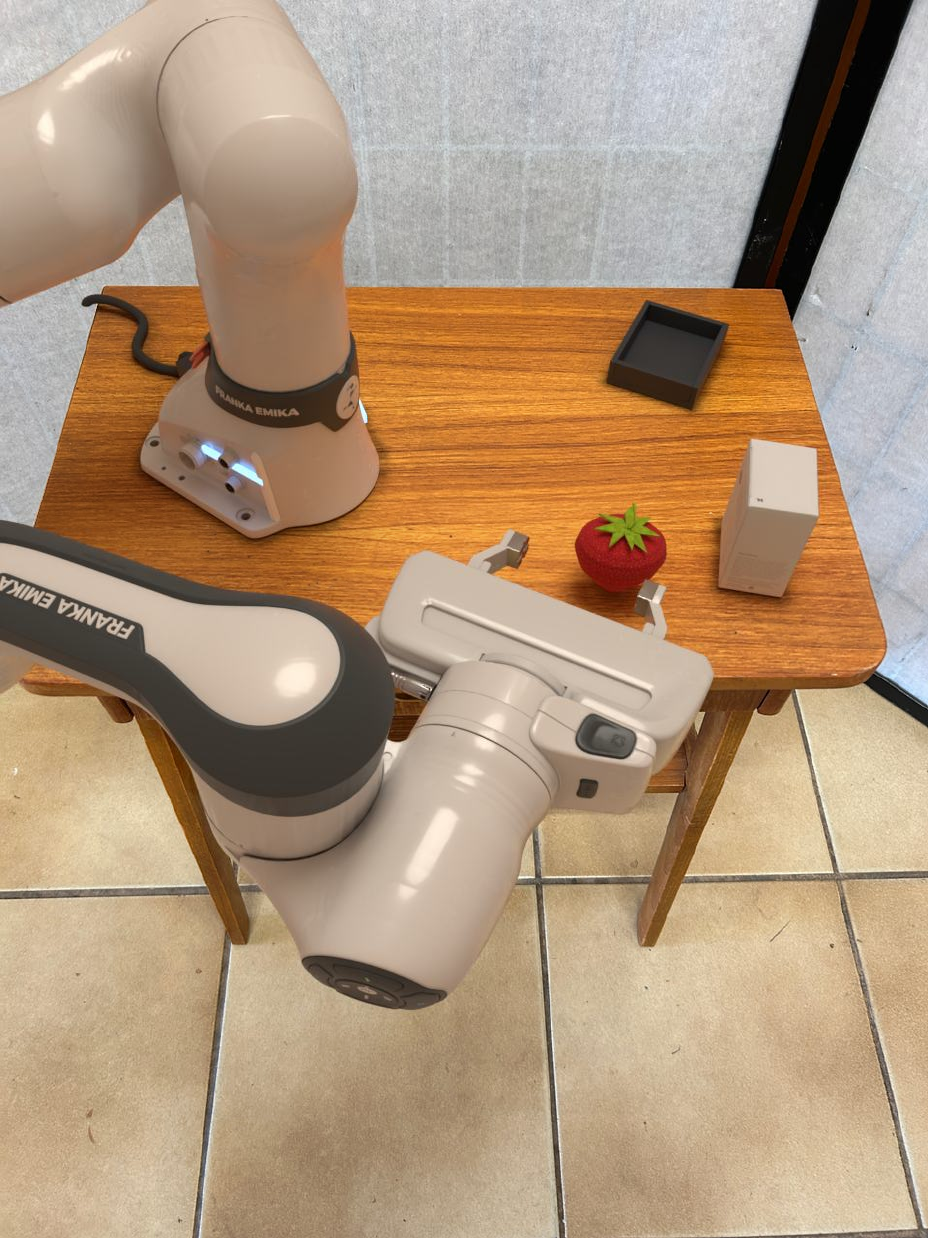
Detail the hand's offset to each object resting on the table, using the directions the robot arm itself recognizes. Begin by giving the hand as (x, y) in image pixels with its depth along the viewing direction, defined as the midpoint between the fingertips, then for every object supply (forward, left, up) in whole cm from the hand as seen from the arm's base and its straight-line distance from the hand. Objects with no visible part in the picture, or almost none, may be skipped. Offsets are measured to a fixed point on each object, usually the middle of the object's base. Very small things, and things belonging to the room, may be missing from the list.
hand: (585, 562), depth 62 cm
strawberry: (0, +12, -17) cm, 21 cm away
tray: (-5, +43, -17) cm, 46 cm away
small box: (+10, +21, -17) cm, 29 cm away
